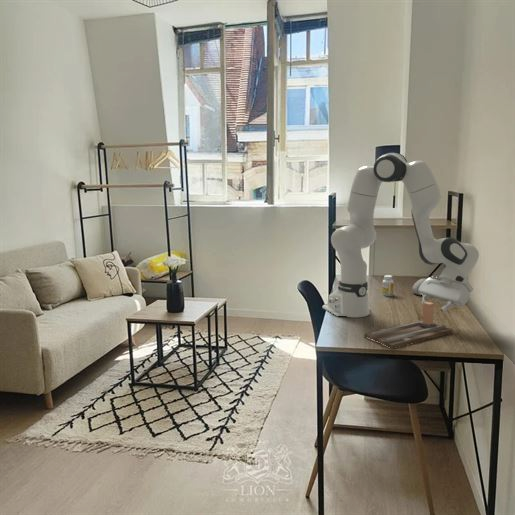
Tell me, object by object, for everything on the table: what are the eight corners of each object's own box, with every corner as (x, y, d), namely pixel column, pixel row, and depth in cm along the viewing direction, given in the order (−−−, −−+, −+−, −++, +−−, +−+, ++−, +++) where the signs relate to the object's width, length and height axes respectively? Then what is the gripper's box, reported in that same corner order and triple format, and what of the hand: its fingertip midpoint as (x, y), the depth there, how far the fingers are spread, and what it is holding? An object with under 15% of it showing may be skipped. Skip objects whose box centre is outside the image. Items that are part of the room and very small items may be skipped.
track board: (364, 337, 172) (364, 330, 171) (423, 323, 186) (423, 317, 186) (391, 349, 160) (391, 342, 159) (452, 333, 174) (452, 326, 174)
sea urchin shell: (430, 299, 222) (431, 282, 221) (406, 294, 232) (406, 278, 231) (445, 294, 230) (446, 278, 229) (420, 289, 241) (421, 274, 239)
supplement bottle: (391, 293, 234) (391, 274, 232) (394, 295, 229) (395, 276, 227) (380, 293, 234) (381, 274, 232) (384, 296, 229) (384, 277, 227)
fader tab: (418, 325, 178) (419, 302, 177) (426, 323, 180) (427, 300, 179) (429, 328, 174) (430, 305, 172) (436, 327, 176) (437, 303, 174)
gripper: (426, 271, 188) (407, 297, 185) (470, 280, 170) (450, 309, 167) (433, 280, 190) (415, 306, 187) (477, 290, 173) (458, 319, 170)
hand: (432, 308), depth 177 cm, fingers open, 8 cm apart
